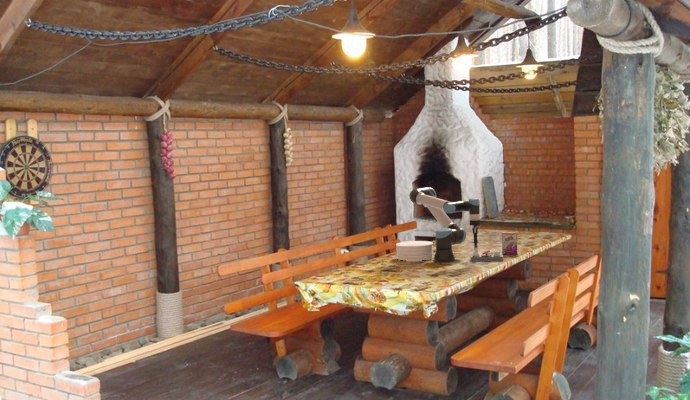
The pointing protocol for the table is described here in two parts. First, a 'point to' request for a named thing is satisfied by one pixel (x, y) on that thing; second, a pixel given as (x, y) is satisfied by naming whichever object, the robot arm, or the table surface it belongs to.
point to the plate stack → (414, 250)
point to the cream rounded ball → (475, 254)
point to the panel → (486, 258)
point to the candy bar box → (509, 242)
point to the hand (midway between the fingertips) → (476, 251)
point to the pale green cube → (497, 253)
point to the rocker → (486, 252)
